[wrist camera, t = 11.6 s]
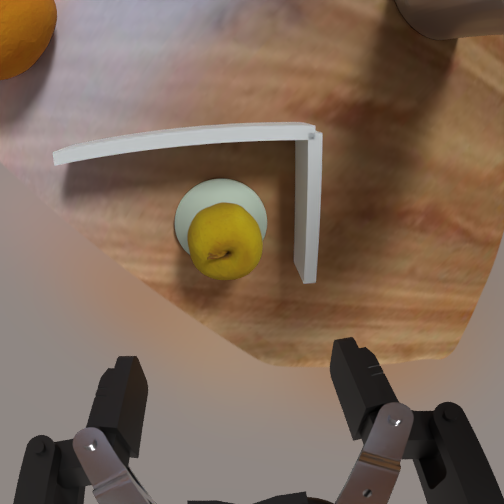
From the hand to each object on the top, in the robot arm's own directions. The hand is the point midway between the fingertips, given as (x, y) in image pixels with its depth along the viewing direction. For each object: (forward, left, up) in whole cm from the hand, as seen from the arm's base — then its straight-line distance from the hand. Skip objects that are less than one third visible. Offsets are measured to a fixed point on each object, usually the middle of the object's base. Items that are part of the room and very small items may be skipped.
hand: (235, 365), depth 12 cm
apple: (0, +2, -20) cm, 20 cm away
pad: (0, +2, -21) cm, 21 cm away
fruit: (+19, -21, -21) cm, 35 cm away
